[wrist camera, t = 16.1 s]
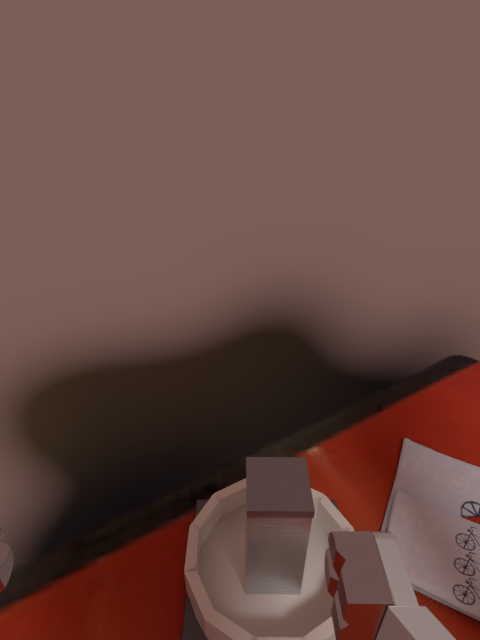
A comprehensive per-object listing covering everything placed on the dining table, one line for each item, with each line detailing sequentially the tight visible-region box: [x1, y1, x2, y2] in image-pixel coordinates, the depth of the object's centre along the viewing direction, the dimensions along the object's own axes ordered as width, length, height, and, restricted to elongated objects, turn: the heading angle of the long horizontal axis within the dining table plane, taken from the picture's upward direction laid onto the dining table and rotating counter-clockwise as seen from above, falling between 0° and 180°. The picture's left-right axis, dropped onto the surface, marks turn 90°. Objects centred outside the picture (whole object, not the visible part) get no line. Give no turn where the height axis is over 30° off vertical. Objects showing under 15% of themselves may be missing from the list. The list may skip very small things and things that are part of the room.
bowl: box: [184, 478, 354, 640], centre depth 39 cm, size 16×16×4 cm
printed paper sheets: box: [381, 438, 480, 621], centre depth 44 cm, size 19×20×2 cm
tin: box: [245, 457, 315, 595], centre depth 36 cm, size 5×5×12 cm
